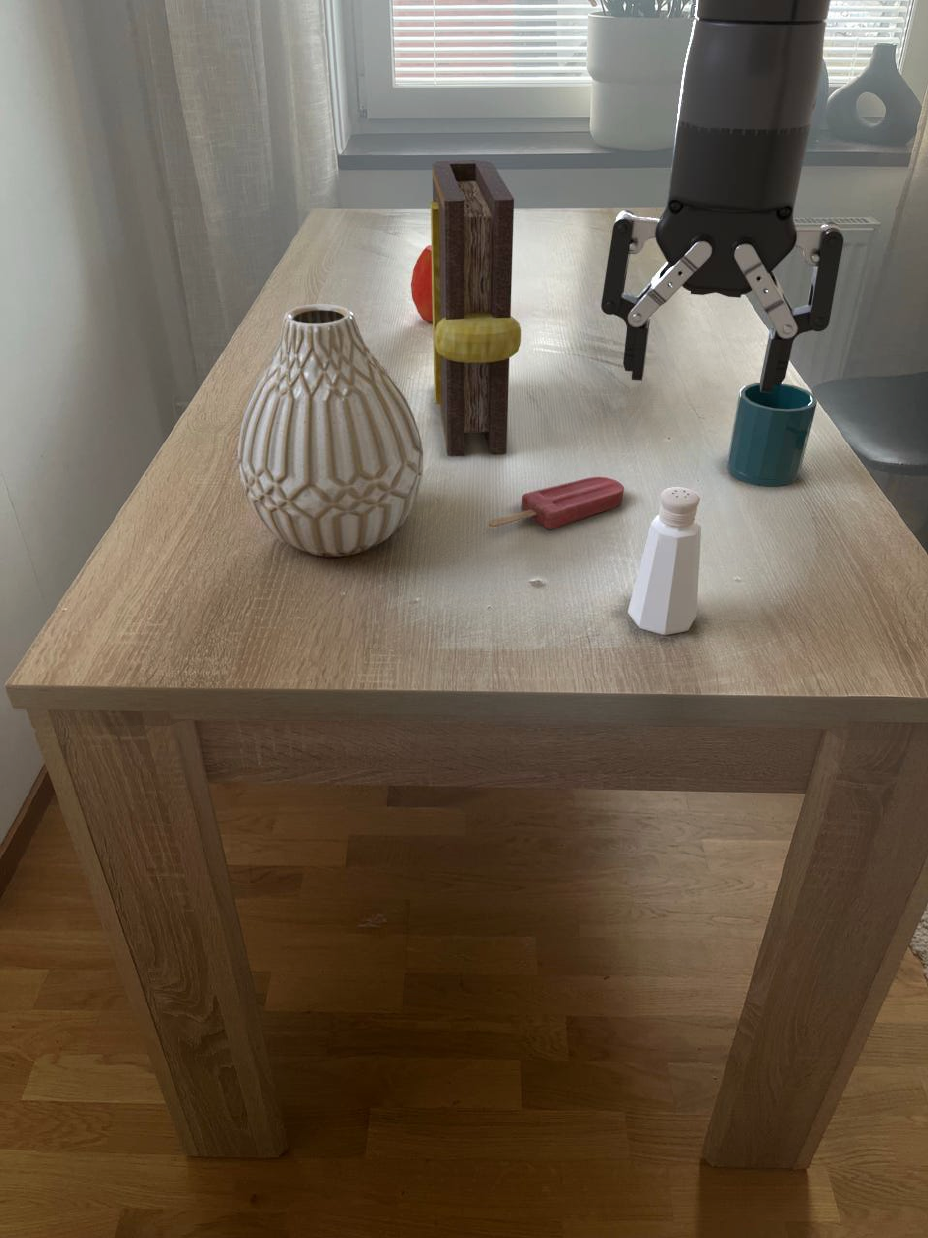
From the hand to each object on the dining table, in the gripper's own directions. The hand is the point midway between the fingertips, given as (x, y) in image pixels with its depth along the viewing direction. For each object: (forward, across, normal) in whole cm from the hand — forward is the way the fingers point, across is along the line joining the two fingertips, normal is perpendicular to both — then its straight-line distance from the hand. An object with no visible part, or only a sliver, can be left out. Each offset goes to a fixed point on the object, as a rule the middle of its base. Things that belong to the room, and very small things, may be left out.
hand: (700, 382), depth 63 cm
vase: (+20, -30, +6) cm, 36 cm away
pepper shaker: (+20, 0, 0) cm, 20 cm away
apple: (+20, -36, +66) cm, 78 cm away
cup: (+19, +8, +28) cm, 35 cm away
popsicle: (+20, -11, +14) cm, 26 cm away
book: (+20, -23, +32) cm, 45 cm away
